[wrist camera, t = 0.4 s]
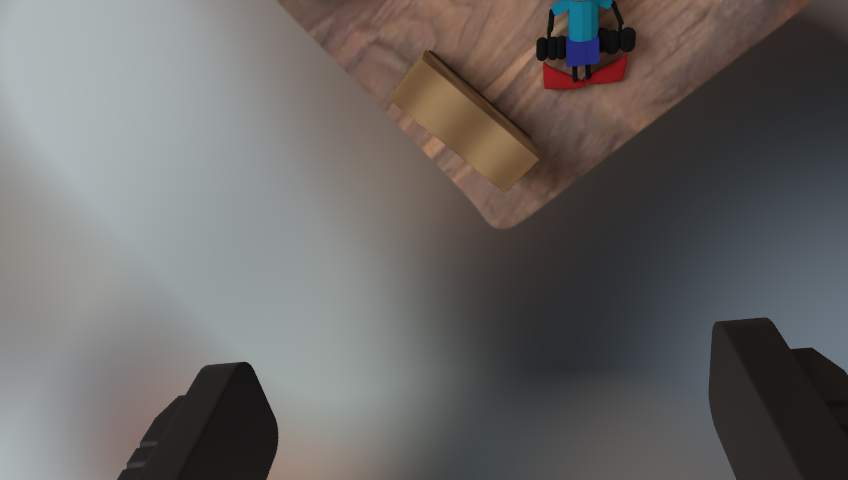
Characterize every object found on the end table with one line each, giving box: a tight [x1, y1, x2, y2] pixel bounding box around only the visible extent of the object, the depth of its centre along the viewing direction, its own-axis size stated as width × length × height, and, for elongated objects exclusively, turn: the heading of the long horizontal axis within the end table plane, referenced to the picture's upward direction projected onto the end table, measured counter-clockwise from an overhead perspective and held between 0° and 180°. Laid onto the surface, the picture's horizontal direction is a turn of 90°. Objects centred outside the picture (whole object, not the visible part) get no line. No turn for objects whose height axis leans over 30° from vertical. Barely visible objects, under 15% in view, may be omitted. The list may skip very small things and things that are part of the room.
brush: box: [389, 49, 540, 193], centre depth 48 cm, size 12×4×4 cm, turn 51°
